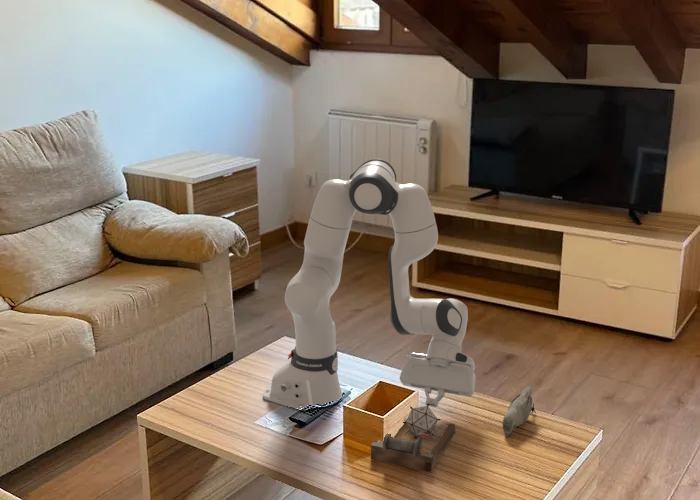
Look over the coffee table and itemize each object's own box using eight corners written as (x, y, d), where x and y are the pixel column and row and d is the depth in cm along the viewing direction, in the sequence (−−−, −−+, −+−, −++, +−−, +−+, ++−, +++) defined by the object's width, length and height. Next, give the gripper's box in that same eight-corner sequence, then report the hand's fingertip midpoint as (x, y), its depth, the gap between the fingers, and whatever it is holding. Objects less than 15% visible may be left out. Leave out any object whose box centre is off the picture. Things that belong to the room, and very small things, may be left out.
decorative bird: (496, 435, 216) (497, 409, 214) (518, 409, 229) (520, 384, 227) (516, 440, 213) (517, 414, 211) (538, 413, 226) (539, 388, 224)
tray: (369, 462, 205) (368, 427, 202) (398, 422, 223) (398, 389, 220) (429, 475, 199) (430, 439, 196) (455, 432, 217) (456, 399, 214)
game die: (427, 450, 216) (437, 434, 208) (396, 437, 217) (405, 420, 209) (437, 421, 222) (447, 404, 214) (407, 408, 222) (416, 391, 214)
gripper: (403, 347, 229) (391, 395, 224) (477, 358, 221) (466, 408, 216) (409, 355, 234) (397, 402, 229) (481, 367, 227) (470, 416, 221)
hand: (431, 405), depth 222 cm, fingers closed
